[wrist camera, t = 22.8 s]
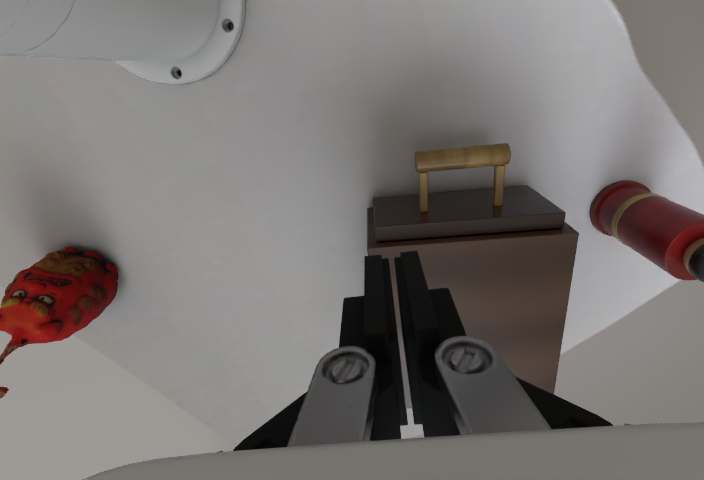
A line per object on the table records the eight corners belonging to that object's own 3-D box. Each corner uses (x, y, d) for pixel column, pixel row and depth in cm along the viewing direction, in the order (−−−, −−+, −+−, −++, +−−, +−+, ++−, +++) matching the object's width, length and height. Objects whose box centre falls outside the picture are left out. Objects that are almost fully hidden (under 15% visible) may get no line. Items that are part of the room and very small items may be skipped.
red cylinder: (594, 183, 33) (705, 237, 22) (655, 178, 32) (798, 231, 22) (585, 235, 35) (683, 309, 24) (642, 231, 34) (767, 304, 24)
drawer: (368, 145, 31) (369, 163, 25) (532, 130, 30) (575, 145, 24) (383, 332, 39) (386, 381, 33) (515, 324, 38) (543, 374, 32)
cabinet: (367, 207, 35) (367, 248, 27) (529, 194, 33) (579, 232, 26) (379, 344, 41) (381, 409, 33) (516, 337, 40) (552, 402, 32)
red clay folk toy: (123, 250, 37) (-18, 354, 24) (130, 309, 40) (7, 433, 26) (45, 238, 37) (-144, 337, 23) (57, 298, 40) (-105, 417, 26)
